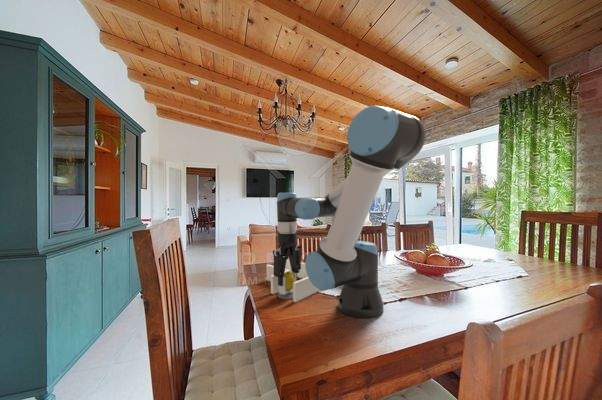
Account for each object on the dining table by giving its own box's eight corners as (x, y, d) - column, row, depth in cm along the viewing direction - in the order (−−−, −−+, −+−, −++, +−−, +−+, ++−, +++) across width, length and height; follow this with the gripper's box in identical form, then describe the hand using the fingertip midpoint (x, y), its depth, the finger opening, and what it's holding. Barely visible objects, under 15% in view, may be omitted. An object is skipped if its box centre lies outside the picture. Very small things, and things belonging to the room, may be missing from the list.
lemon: (292, 295, 97) (291, 274, 96) (278, 293, 98) (278, 272, 98) (297, 290, 102) (296, 270, 102) (284, 288, 104) (284, 268, 103)
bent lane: (331, 285, 110) (331, 269, 110) (295, 302, 93) (295, 283, 93) (287, 273, 128) (286, 259, 128) (250, 285, 111) (250, 269, 111)
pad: (302, 294, 100) (302, 293, 100) (288, 301, 94) (288, 300, 94) (288, 289, 106) (288, 288, 106) (273, 295, 100) (273, 294, 100)
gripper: (296, 228, 109) (296, 282, 109) (262, 234, 95) (263, 296, 96) (309, 230, 104) (310, 286, 105) (276, 236, 90) (277, 301, 91)
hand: (288, 291), depth 100 cm, fingers closed on lemon, 5 cm apart
